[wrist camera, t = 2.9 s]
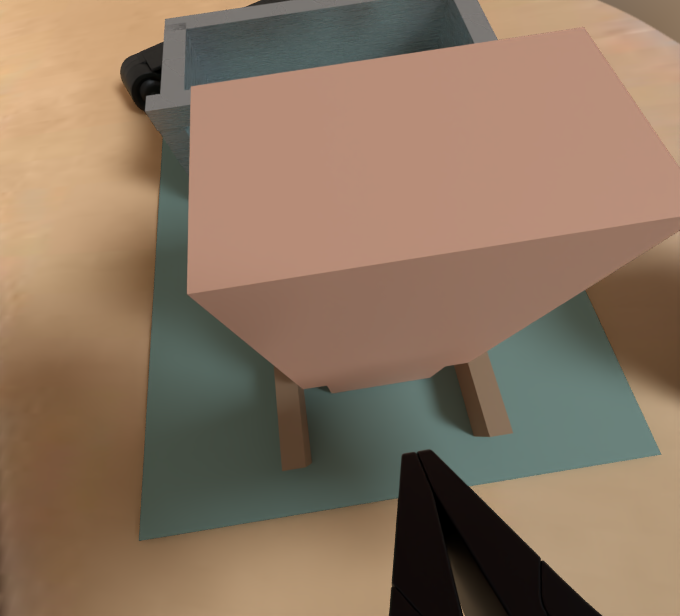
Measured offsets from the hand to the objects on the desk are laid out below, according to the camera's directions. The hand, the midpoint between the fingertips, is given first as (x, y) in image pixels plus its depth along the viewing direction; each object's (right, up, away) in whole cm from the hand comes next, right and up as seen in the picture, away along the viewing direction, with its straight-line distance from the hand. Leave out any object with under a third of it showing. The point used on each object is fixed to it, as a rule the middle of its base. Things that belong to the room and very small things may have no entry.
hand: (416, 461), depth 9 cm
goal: (-3, +16, +14) cm, 21 cm away
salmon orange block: (0, +2, +8) cm, 9 cm away
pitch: (-1, +8, +11) cm, 14 cm away
